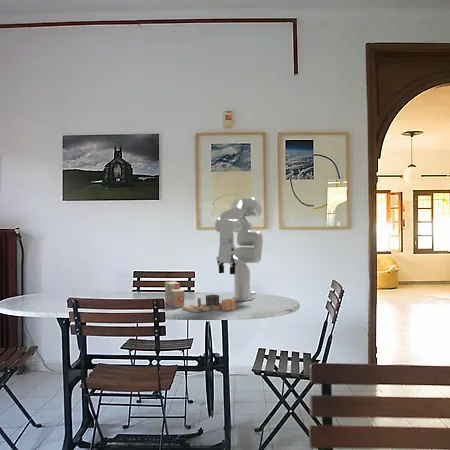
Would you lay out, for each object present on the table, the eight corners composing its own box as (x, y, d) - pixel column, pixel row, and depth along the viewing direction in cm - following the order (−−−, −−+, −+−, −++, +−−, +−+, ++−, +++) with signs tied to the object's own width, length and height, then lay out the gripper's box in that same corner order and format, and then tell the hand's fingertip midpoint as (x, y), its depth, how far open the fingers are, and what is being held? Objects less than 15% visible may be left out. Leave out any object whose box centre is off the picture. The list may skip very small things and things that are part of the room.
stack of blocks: (184, 307, 269) (184, 285, 268) (173, 308, 266) (173, 285, 266) (175, 301, 289) (174, 280, 289) (165, 302, 287) (164, 281, 286)
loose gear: (229, 307, 264) (229, 298, 264) (238, 309, 259) (237, 300, 259) (219, 309, 260) (218, 300, 260) (227, 311, 254) (227, 301, 254)
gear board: (214, 304, 275) (214, 292, 275) (229, 307, 265) (228, 294, 265) (182, 309, 262) (182, 296, 262) (196, 312, 252) (196, 299, 251)
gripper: (242, 242, 255) (242, 274, 255) (222, 241, 269) (222, 272, 268) (231, 242, 250) (231, 275, 250) (211, 241, 264) (211, 273, 264)
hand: (226, 273), depth 259 cm, fingers open, 9 cm apart
